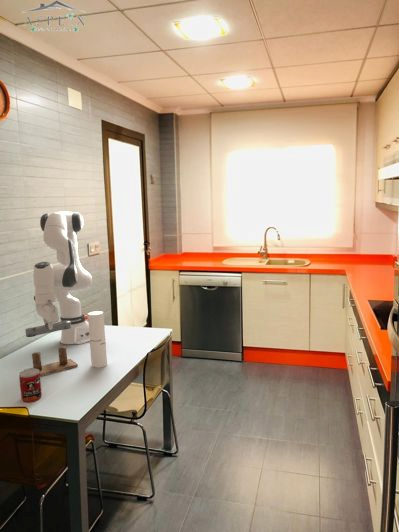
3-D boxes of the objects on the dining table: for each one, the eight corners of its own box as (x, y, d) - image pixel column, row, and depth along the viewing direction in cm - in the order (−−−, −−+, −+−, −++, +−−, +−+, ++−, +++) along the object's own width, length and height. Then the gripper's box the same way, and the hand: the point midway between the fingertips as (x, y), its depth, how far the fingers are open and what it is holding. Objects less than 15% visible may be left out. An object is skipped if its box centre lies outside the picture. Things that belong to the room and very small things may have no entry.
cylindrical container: (90, 363, 216) (86, 312, 212) (105, 360, 219) (101, 310, 215) (93, 368, 209) (89, 315, 206) (108, 365, 212) (104, 313, 208)
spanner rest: (70, 360, 220) (68, 342, 219) (77, 366, 212) (76, 347, 211) (23, 372, 208) (21, 353, 206) (29, 378, 200) (27, 359, 198)
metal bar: (69, 325, 214) (68, 319, 213) (72, 328, 210) (72, 321, 210) (24, 335, 202) (24, 328, 202) (27, 337, 199) (26, 331, 198)
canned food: (21, 404, 175) (19, 377, 173) (21, 396, 182) (18, 370, 180) (42, 400, 178) (40, 373, 176) (41, 392, 185) (38, 366, 183)
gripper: (60, 301, 197) (63, 331, 200) (45, 293, 214) (48, 321, 216) (46, 304, 194) (49, 335, 196) (32, 295, 210) (35, 324, 212)
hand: (48, 327), depth 206 cm, fingers closed on metal bar, 3 cm apart
